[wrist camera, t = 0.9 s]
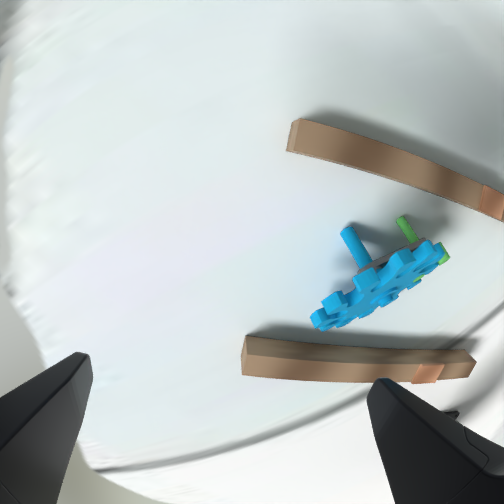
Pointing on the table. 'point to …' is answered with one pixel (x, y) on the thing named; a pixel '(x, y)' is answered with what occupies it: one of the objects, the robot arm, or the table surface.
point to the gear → (379, 277)
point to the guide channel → (362, 358)
